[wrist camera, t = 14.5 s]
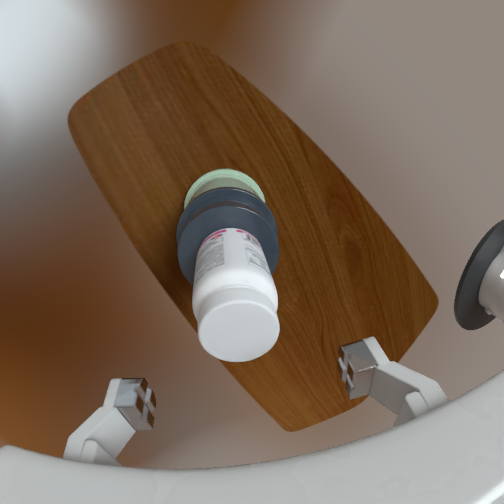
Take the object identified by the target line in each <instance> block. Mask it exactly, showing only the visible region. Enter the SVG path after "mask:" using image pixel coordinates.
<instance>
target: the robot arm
mask: <svg viewBox="0 0 504 504" xmlns="http://www.w3.org/2000/svg"><path fill="white" fill-rule="evenodd" d="M479 303H480V305H481V306H483V307H484V308H485V312H486V313H487V314H488V315H490V314H493V315H494V316H495V317H497V318H498V319H499V320H501V321H502V322H503V323H504V245H503V247H502V249H501V251H500V253H499V254H498V255H497V257H496V258H495V259H494V260H493V262H492V263H491V264H490V266H489V268H488V269H487V271H486V273H485V275H484V278H483V280H482V283H481V286H480V290H479ZM338 353H339V355H340V358H339V359H338V371H339V374H340V377H341V379H342V381H344V382H346V384H345V389H346V391H347V394H348V396H349V398H350V400H351V399H354V398H358V397H361V396H365V395H368V394H369V396H371V397H372V398H374V399H375V400H376V401H378V402H380V403H381V404H382V405H384V406H385V407H387V408H388V409H390V410H391V411H392V412H394V413H395V414H397V415H398V417H397V419H396V421H395V423H394V426H393V428H390V429H387V430H385V431H382V432H379V433H376V434H374V435H371V436H368V437H365V438H362V439H359V440H356V441H353V442H350V443H346V444H343V445H339V446H336V447H332V448H328V449H324V450H320V451H317V452H312V453H308V454H303V455H299V456H294V457H289V458H284V459H279V460H273V461H266V462H260V463H253V464H245V465H236V466H226V467H214V468H197V469H147V468H146V469H145V468H130V467H123V466H122V465H121V464H120V463H119V462H118V461H117V460H116V459H115V458H116V457H117V456H118V454H119V453H120V452H121V450H122V449H123V448H124V446H125V445H126V443H127V442H128V441H129V439H130V438H131V437H132V435H133V434H134V433H135V430H152V429H153V423H154V417H153V415H152V413H153V411H154V410H155V408H156V399H155V395H154V393H153V391H152V390H151V389H150V388H148V387H147V384H148V383H147V381H146V380H145V378H123V379H112V380H111V381H110V384H109V387H108V391H107V394H106V397H105V401H104V404H103V407H99V409H97V410H96V411H95V412H94V413H93V414H92V415H91V416H90V417H89V418H88V419H87V420H86V421H85V422H84V423H83V424H82V425H81V426H80V427H79V428H78V429H76V431H75V432H73V433H72V434H71V435H70V436H69V439H68V441H67V445H66V448H65V452H64V456H63V458H59V457H54V456H50V455H46V454H42V453H38V452H34V451H30V450H26V449H23V448H20V447H17V446H13V445H5V446H3V447H2V448H0V504H504V370H502V371H501V372H499V373H498V374H496V375H495V376H493V377H491V378H490V379H488V380H487V381H485V382H484V383H482V384H480V385H479V386H477V387H475V388H474V389H472V390H470V391H468V392H467V393H465V394H463V395H461V396H459V397H458V398H456V399H454V400H452V401H450V402H449V400H448V399H447V397H446V395H445V394H444V392H443V391H442V389H441V388H440V387H439V385H438V383H437V382H436V381H434V380H432V379H430V378H428V377H426V376H423V375H421V374H419V373H417V372H415V371H413V370H411V369H409V368H407V367H404V366H402V365H400V364H398V363H396V362H394V361H392V362H390V361H389V360H388V358H387V356H386V355H385V353H384V351H383V350H382V348H381V347H380V345H379V343H378V342H377V340H376V339H375V337H373V336H372V337H369V338H366V339H362V340H358V341H355V342H351V343H348V344H344V345H341V346H339V350H338Z"/></svg>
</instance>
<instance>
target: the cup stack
mask: <svg viewBox="0 0 504 504" xmlns="http://www.w3.org/2000/svg"><path fill="white" fill-rule="evenodd" d="M225 228H236V229H241V230H244V231H246V232H248V233H250V234H251V235H253V236H254V237H255V238H256V239H257V241H258V242H259V244H260V245H261V247H262V250H263V252H264V255H265V258H266V261H267V264H268V267H269V270H270V273H271V276H272V274H273V272H274V271H275V269H276V266H277V263H278V259H279V244H278V240H277V238H278V231H277V225H276V221H275V219H274V216H273V214H272V212H271V211H270V209H269V208H268V206H267V205H266V204H265V199H264V196H263V193H262V191H261V189H260V188H259V186H258V185H257V183H256V182H255V181H254V180H253V179H252V178H251V177H249V176H248V175H246V174H245V173H243V172H240V171H237V170H234V169H217V170H213V171H210V172H208V173H206V174H204V175H202V176H201V177H200V178H198V179H197V180H196V181H195V182H194V183H193V185H192V186H191V187H190V189H189V191H188V193H187V196H186V199H185V203H184V211H183V213H182V214H181V217H180V219H179V222H178V226H177V231H176V242H177V247H178V252H177V253H178V262H179V266H180V268H181V271H182V273H183V275H184V276H185V278H186V279H187V280H188V281H189V282H190V284H191V285H193V286H194V276H195V267H196V260H197V254H198V250H199V248H200V246H201V244H202V242H203V241H204V240H205V239H206V238H207V237H208V236H209V235H210V234H212V233H214V232H216V231H218V230H221V229H225Z"/></svg>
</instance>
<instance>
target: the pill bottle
mask: <svg viewBox="0 0 504 504" xmlns="http://www.w3.org/2000/svg"><path fill="white" fill-rule="evenodd" d="M192 307H193V312H194V315H195V318H196V320H197V321H198V338H199V341H200V343H201V345H202V347H203V348H204V349H205V350H206V351H207V352H208V353H209V354H211V355H213V356H214V357H216V358H218V359H221V360H224V361H229V362H244V361H249V360H253V359H255V358H258V357H260V356H262V355H263V354H265V353H266V352H268V351H269V350H270V349H271V348H272V347H273V346H274V344H275V343H276V341H277V339H278V335H279V330H280V328H279V321H278V317H277V313H276V311H277V307H278V296H277V291H276V288H275V285H274V282H273V279H272V276H271V273H270V270H269V267H268V264H267V261H266V258H265V255H264V252H263V250H262V247H261V245H260V244H259V242H258V241H257V239H256V238H255V237H254V236H253V235H251V234H250V233H248V232H246V231H244V230H241V229H236V228H225V229H221V230H218V231H216V232H214V233H212V234H210V235H209V236H208V237H207V238H206V239H205V240H204V241H203V242H202V244H201V246H200V248H199V250H198V254H197V260H196V267H195V276H194V286H193V297H192Z"/></svg>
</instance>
